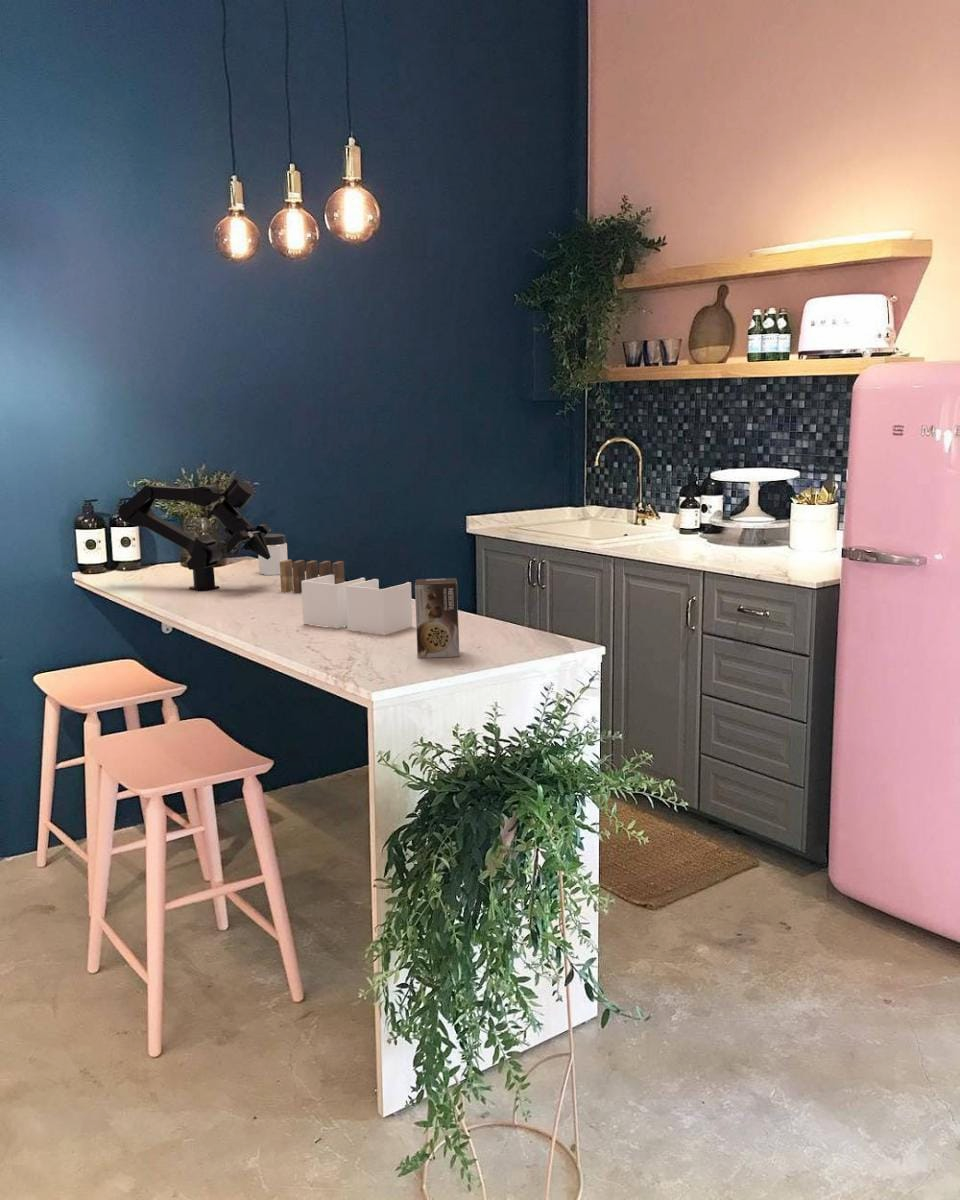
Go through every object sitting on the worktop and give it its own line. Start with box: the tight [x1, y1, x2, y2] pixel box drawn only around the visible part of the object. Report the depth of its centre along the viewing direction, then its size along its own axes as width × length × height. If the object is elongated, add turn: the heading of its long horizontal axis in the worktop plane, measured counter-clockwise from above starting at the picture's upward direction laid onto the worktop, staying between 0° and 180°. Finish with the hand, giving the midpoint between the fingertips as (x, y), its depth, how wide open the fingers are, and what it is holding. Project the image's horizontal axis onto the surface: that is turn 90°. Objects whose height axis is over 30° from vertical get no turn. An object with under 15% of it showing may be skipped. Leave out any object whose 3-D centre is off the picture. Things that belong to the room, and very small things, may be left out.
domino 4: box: [318, 560, 332, 577], centre depth 316 cm, size 2×5×9 cm, turn 165°
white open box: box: [301, 574, 413, 636], centre depth 271 cm, size 25×11×11 cm, turn 57°
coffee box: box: [414, 577, 460, 659], centre depth 239 cm, size 9×6×16 cm
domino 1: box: [279, 559, 294, 593], centre depth 320 cm, size 2×5×9 cm, turn 165°
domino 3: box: [305, 559, 319, 580], centre depth 317 cm, size 2×5×9 cm, turn 166°
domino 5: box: [331, 560, 346, 584], centre depth 315 cm, size 2×5×9 cm, turn 165°
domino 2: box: [292, 559, 306, 594], centre depth 318 cm, size 2×5×9 cm, turn 165°
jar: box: [257, 533, 289, 576], centre depth 352 cm, size 9×8×12 cm
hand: (269, 558), depth 319 cm, fingers closed
